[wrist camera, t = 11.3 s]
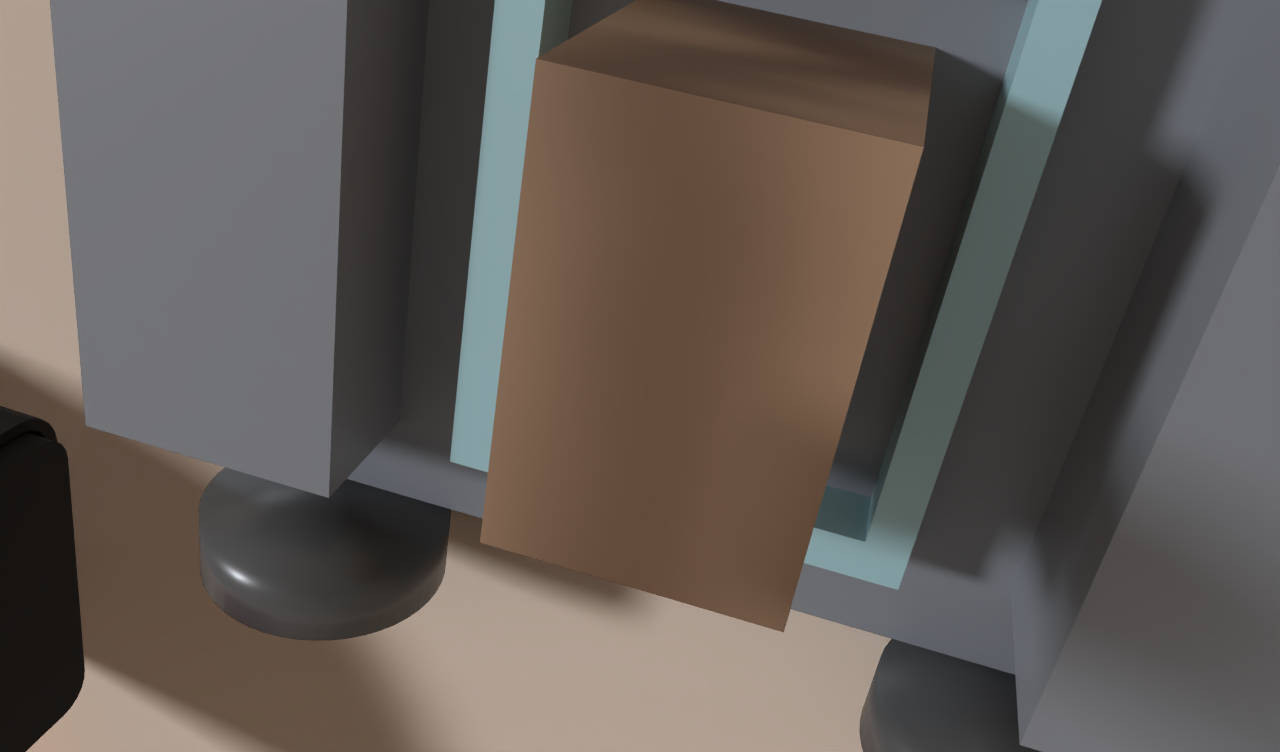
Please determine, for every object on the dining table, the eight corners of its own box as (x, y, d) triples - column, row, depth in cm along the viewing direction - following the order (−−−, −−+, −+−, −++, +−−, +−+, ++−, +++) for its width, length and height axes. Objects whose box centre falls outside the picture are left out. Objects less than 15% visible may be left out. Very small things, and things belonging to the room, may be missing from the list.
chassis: (1713, -271, 15) (2063, -308, 10) (1175, 731, 24) (1229, 963, 19) (206, -513, 18) (-64, -627, 13) (222, 450, 27) (63, 589, 22)
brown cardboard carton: (935, 47, 18) (924, 147, 12) (828, 428, 21) (783, 632, 16) (657, -13, 18) (535, 58, 13) (596, 365, 22) (480, 543, 16)
